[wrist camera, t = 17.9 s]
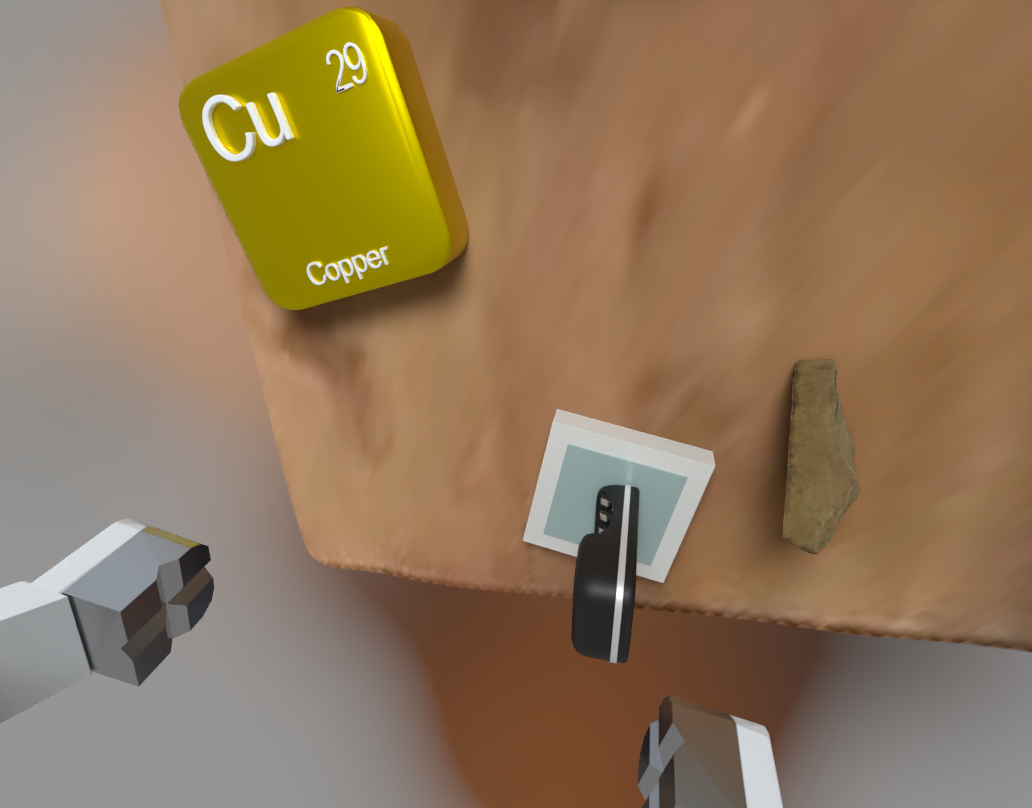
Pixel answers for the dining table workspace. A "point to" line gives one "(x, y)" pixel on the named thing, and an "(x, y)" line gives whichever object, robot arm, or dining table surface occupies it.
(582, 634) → the battery charger
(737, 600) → the dining table surface
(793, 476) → the rock
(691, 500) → the plate
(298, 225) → the element tile
